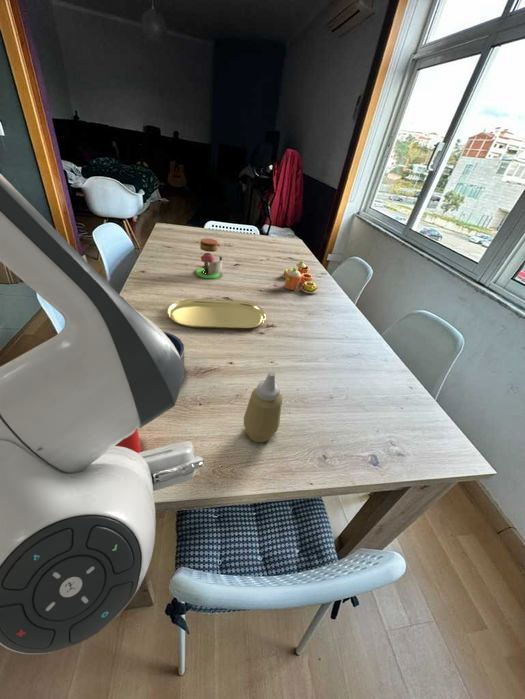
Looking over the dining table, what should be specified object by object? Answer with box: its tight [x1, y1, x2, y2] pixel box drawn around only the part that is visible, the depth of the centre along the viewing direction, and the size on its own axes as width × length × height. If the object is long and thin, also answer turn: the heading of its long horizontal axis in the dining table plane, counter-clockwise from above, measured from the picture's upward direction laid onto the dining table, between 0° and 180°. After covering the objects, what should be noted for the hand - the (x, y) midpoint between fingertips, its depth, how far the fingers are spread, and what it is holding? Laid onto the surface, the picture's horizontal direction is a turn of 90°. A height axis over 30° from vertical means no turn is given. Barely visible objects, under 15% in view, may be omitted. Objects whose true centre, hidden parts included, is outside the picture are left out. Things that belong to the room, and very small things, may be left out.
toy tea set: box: [282, 260, 318, 294], centre depth 139 cm, size 26×16×10 cm, turn 2°
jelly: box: [115, 428, 142, 453], centre depth 56 cm, size 6×6×8 cm
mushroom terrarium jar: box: [195, 237, 223, 280], centre depth 130 cm, size 12×13×15 cm
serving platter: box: [166, 298, 267, 330], centre depth 106 cm, size 19×35×2 cm, turn 99°
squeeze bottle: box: [243, 371, 283, 443], centre depth 62 cm, size 8×8×18 cm
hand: (117, 464), depth 42 cm, fingers open, 8 cm apart
